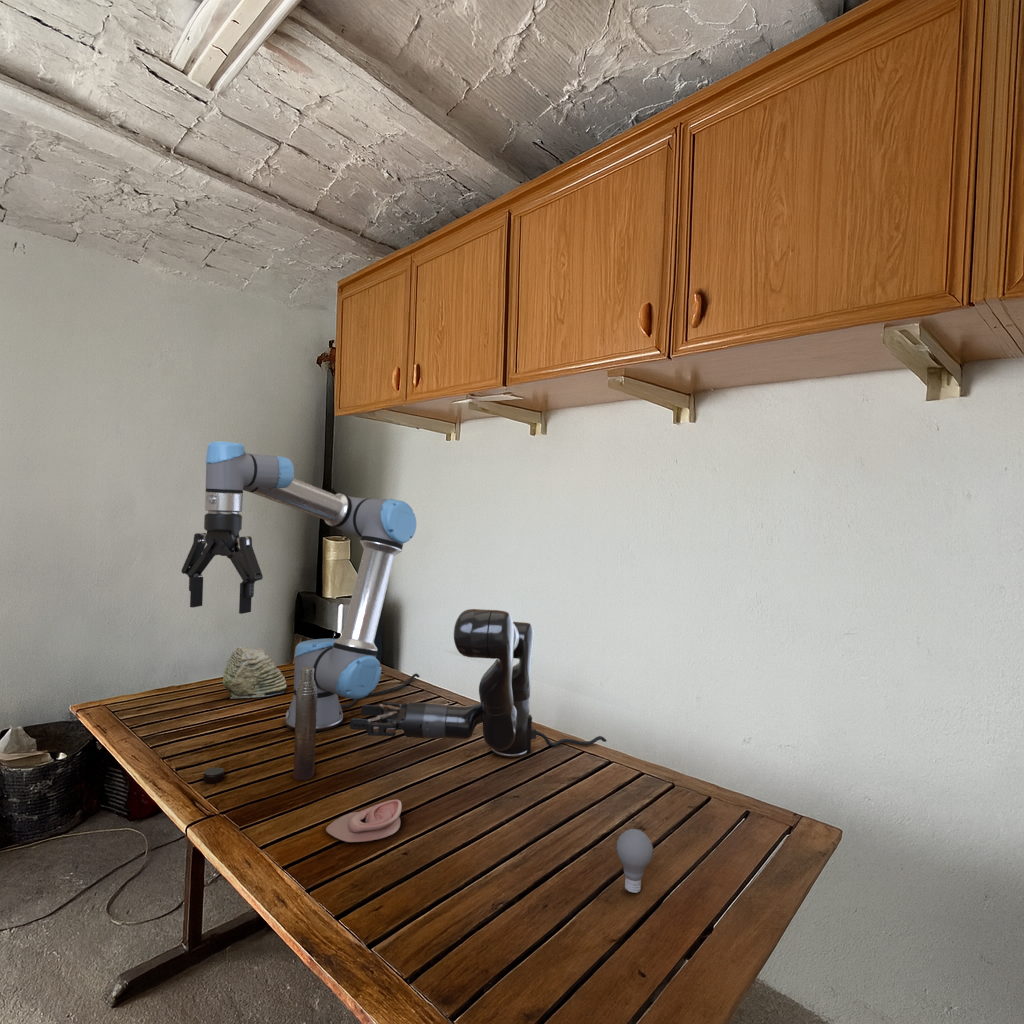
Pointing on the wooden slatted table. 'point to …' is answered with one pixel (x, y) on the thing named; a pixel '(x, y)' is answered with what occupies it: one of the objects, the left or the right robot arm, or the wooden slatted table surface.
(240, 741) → the wooden slatted table surface
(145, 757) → the wooden slatted table surface
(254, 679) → the fossil
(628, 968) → the wooden slatted table surface
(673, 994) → the wooden slatted table surface
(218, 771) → the cap
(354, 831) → the anatomical model
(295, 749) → the bottle
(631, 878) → the light bulb
